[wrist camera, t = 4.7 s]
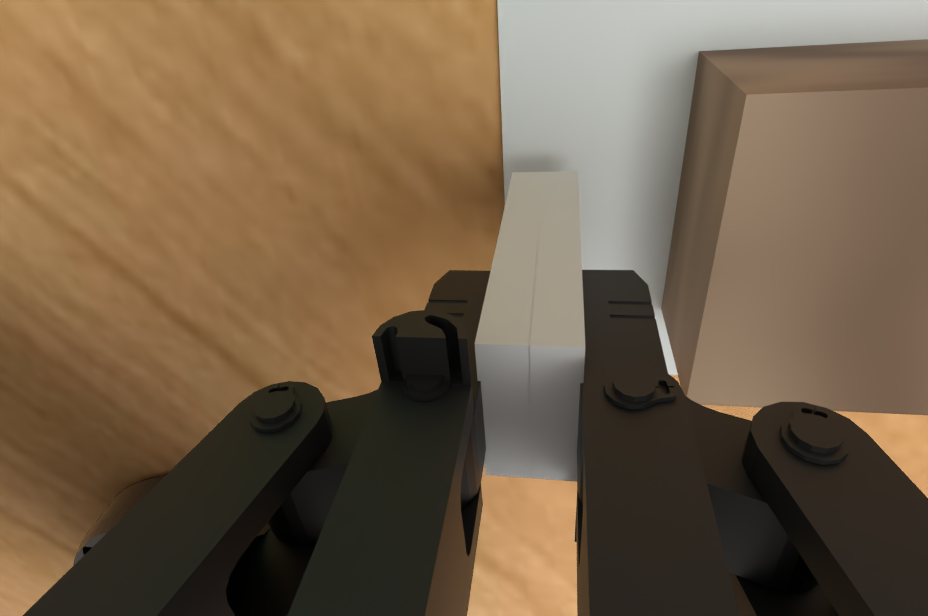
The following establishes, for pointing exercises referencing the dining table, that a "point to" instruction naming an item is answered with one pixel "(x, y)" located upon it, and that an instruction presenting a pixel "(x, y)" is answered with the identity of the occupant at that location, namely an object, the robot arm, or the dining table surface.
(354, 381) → the dining table surface
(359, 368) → the dining table surface
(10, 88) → the dining table surface
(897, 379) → the brown block
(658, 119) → the runner mat
